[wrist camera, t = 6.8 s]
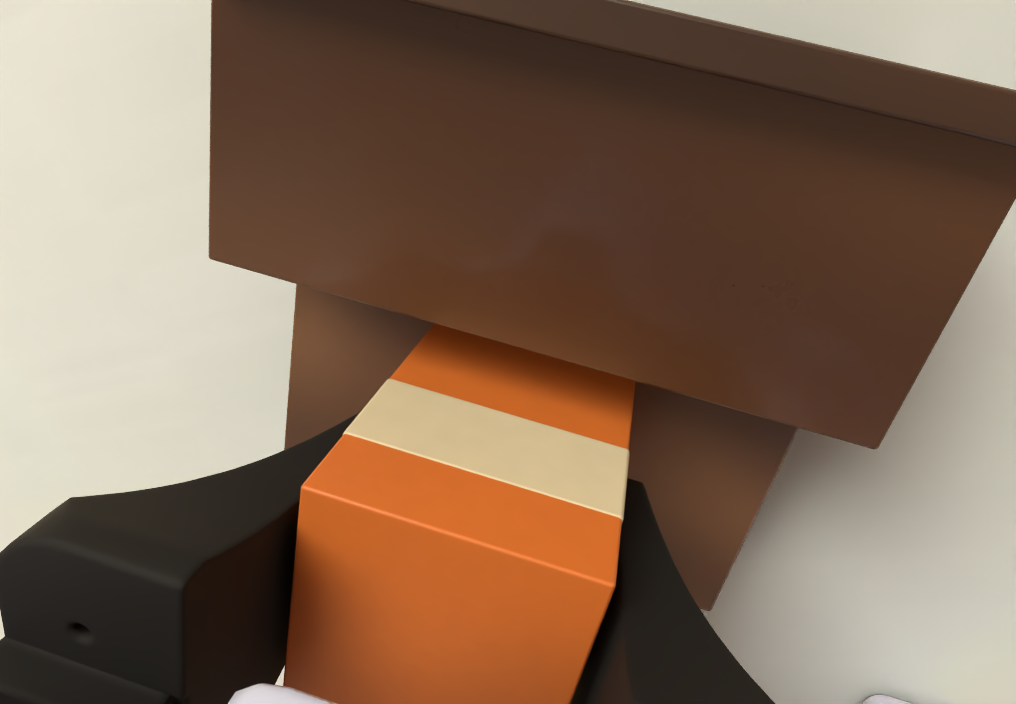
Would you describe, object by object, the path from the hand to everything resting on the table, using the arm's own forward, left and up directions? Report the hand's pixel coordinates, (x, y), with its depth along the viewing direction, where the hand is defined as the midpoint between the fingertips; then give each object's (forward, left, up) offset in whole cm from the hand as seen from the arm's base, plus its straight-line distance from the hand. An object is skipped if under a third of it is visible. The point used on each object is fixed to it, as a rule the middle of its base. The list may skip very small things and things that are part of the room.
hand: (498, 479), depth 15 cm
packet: (0, 0, -2) cm, 2 cm away
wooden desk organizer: (+3, 0, -5) cm, 5 cm away
